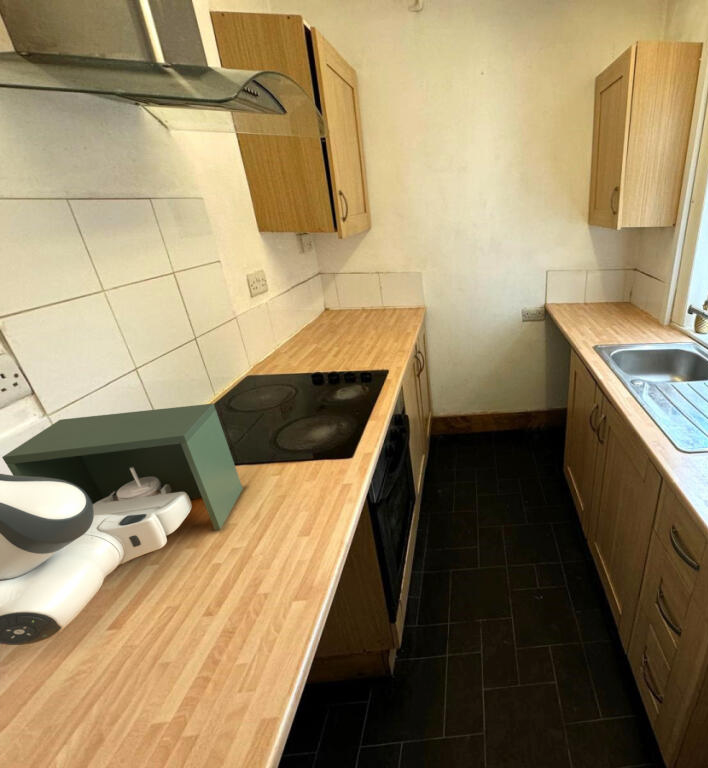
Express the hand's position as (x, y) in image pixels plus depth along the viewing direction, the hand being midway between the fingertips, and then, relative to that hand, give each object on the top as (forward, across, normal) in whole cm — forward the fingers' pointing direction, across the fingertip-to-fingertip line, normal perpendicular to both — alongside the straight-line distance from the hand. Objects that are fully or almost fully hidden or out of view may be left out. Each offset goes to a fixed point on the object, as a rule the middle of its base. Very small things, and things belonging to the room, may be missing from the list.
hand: (143, 490), depth 80 cm
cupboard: (+1, 0, -8) cm, 8 cm away
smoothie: (-1, 0, -8) cm, 8 cm away
